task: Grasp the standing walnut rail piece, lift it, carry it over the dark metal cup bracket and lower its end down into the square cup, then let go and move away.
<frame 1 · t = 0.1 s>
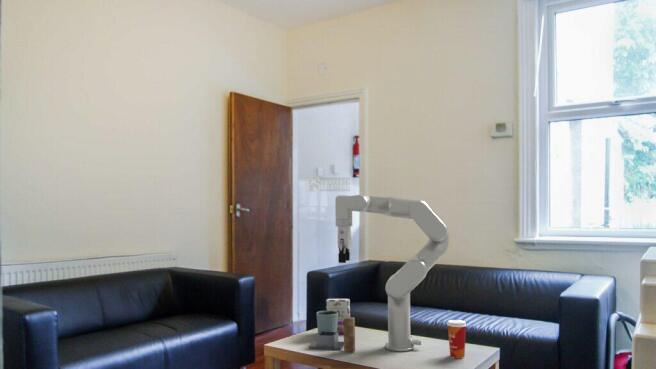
hand: (344, 261, 222), 37 cm above the table, tool pointing down, fingers open, 9 cm apart
paper cup: (457, 357, 201), on the table
walnut rail: (349, 351, 210), on the table
candy bar box: (338, 333, 240), on the table
cup bracket: (327, 346, 218), on the table
green tapered container: (327, 338, 231), on the table
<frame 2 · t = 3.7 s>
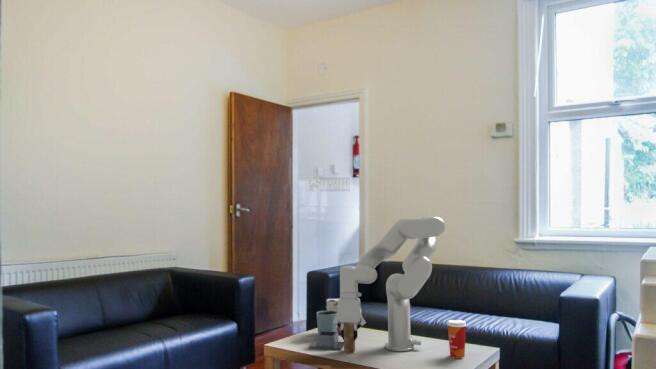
hand: (349, 338, 210), 5 cm above the table, tool pointing down, fingers closed on walnut rail, 4 cm apart
walnut rail: (349, 351, 210), on the table, touching gripper
everything else where it was.
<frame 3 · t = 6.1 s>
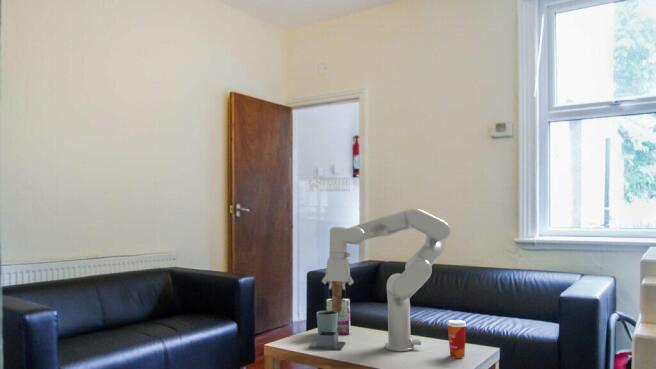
hand: (337, 298, 214), 22 cm above the table, tool pointing down, fingers closed on walnut rail, 4 cm apart
walnut rail: (337, 310, 214), point 16 cm above the table, touching gripper
everything else where it was.
when the fingers open (8 cm above the table, at t = 8.8 s): walnut rail drops 1 cm, resting on cup bracket.
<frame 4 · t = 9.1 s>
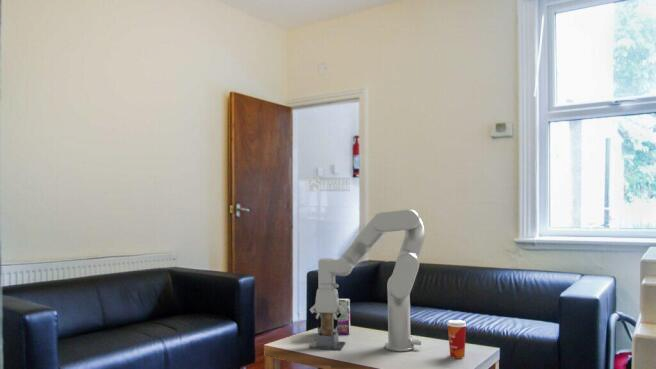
hand: (327, 327, 218), 8 cm above the table, tool pointing down, fingers open, 6 cm apart
walnut rail: (327, 344, 218), point 1 cm above the table, touching cup bracket
everything else where it was.
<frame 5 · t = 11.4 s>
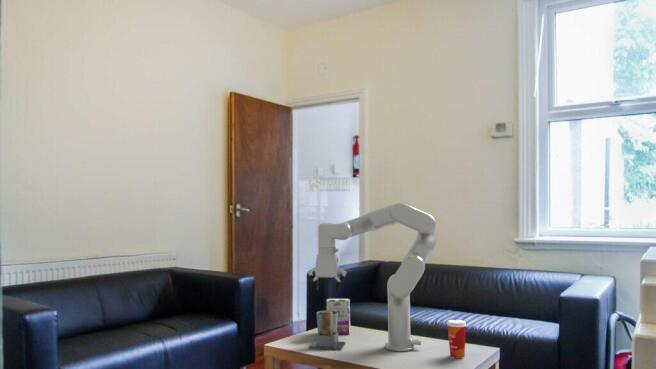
hand: (327, 290, 219), 24 cm above the table, tool pointing down, fingers open, 9 cm apart
nothing on the table moved.
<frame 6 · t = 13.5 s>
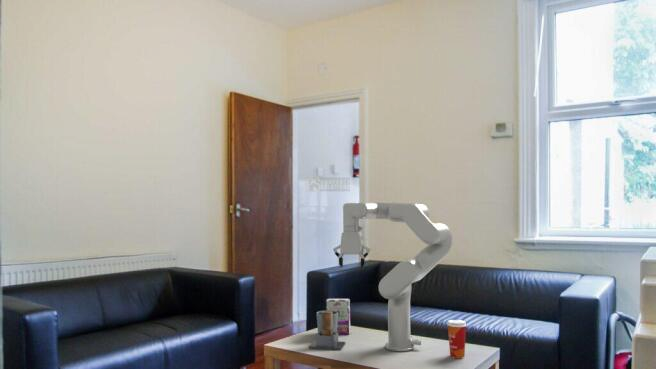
hand: (351, 266, 229), 33 cm above the table, tool pointing down, fingers open, 9 cm apart
nothing on the table moved.
at the end: walnut rail 0.1 cm off-centre on the cup bracket, point 1.0 cm above the cup bracket's base; walnut rail tilted 0°; the gripper is holding nothing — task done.
